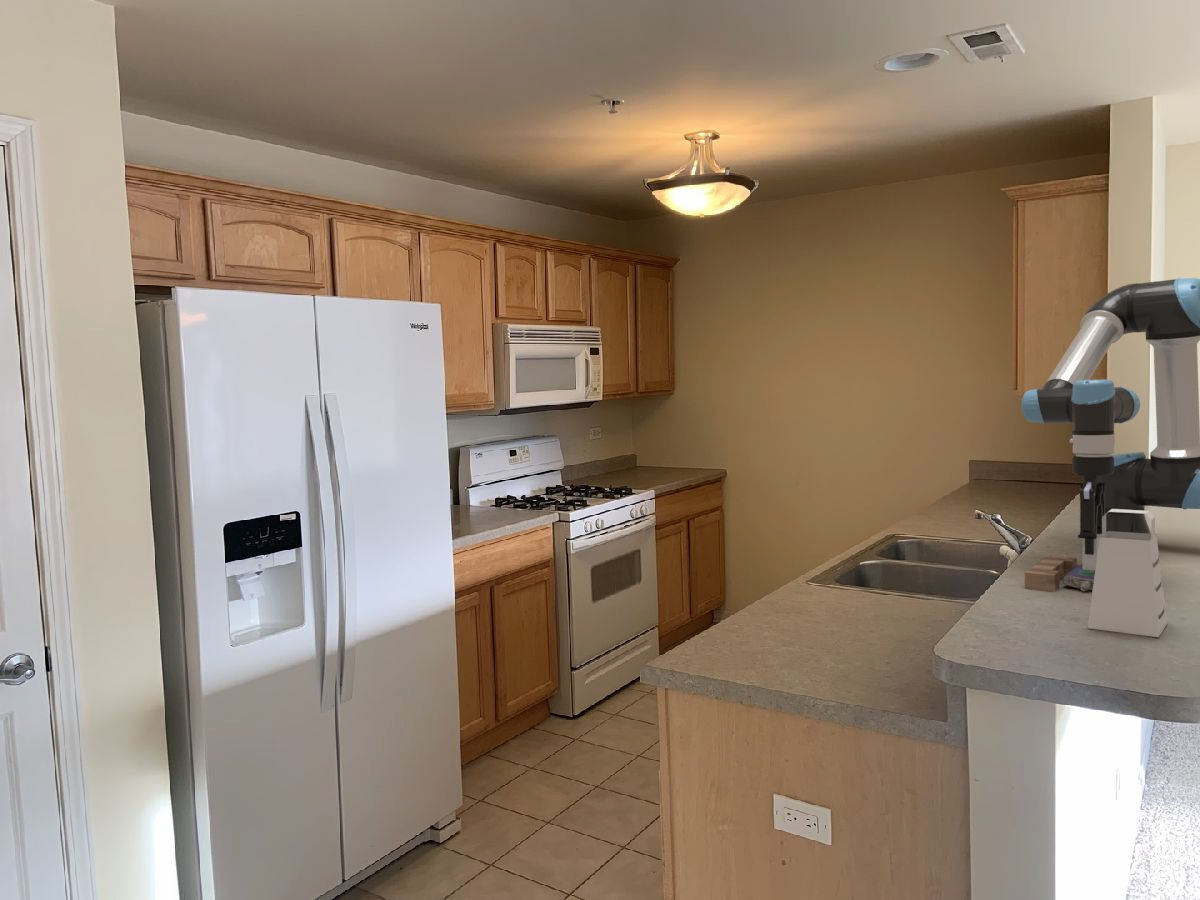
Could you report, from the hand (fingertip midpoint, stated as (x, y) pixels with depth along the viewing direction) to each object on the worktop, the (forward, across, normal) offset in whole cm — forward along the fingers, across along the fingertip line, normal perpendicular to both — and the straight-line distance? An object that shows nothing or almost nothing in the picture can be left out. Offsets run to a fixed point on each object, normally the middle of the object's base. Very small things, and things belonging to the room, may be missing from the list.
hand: (1092, 567), depth 184 cm
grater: (+4, +30, +11) cm, 32 cm away
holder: (+4, 0, 0) cm, 4 cm away
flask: (+5, -2, 0) cm, 5 cm away
